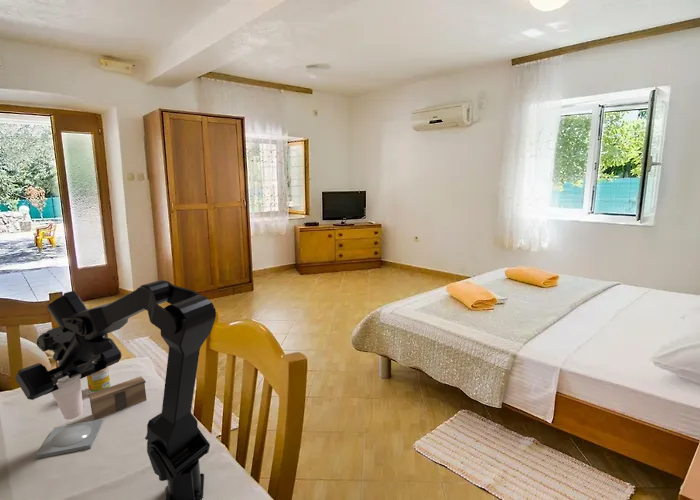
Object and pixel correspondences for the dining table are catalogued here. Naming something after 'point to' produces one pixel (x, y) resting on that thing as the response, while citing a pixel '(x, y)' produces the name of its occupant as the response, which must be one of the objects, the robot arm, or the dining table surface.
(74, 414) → the smoothie
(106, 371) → the supplement bottle
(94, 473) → the dining table surface
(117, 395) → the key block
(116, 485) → the dining table surface
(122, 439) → the dining table surface
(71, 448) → the coaster
